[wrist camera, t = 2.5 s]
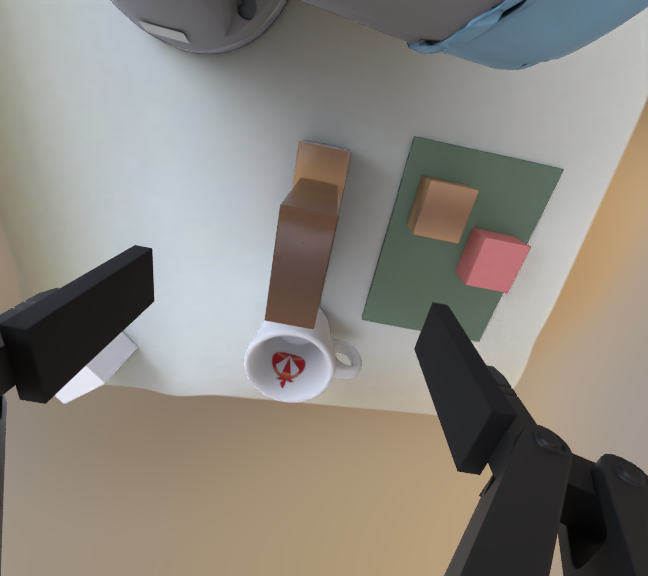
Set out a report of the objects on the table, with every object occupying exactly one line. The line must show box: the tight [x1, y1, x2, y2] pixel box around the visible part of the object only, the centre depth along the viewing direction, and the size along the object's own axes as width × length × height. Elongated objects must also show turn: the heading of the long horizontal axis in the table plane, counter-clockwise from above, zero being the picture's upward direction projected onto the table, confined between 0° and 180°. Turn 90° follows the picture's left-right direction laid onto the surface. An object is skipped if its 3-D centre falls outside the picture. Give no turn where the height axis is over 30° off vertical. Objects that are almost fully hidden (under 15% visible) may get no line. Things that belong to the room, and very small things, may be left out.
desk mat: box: [362, 137, 564, 342], centre depth 31 cm, size 18×13×1 cm
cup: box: [244, 308, 362, 403], centre depth 32 cm, size 11×8×8 cm
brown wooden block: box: [265, 140, 351, 329], centre depth 24 cm, size 12×4×14 cm, turn 169°
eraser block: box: [455, 228, 531, 293], centre depth 30 cm, size 4×4×3 cm
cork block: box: [407, 175, 479, 243], centre depth 28 cm, size 4×4×3 cm
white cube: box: [54, 331, 138, 404], centre depth 35 cm, size 6×6×6 cm
